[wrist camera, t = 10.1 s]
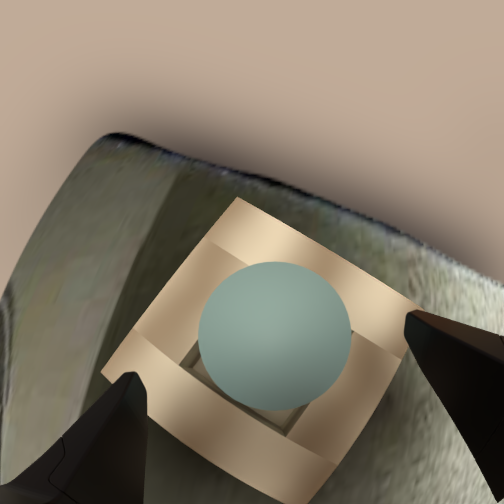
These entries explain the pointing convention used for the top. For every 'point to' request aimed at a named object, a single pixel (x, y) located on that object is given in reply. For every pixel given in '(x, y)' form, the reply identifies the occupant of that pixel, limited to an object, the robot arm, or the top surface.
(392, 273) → the top surface
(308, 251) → the socket
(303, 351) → the peg
